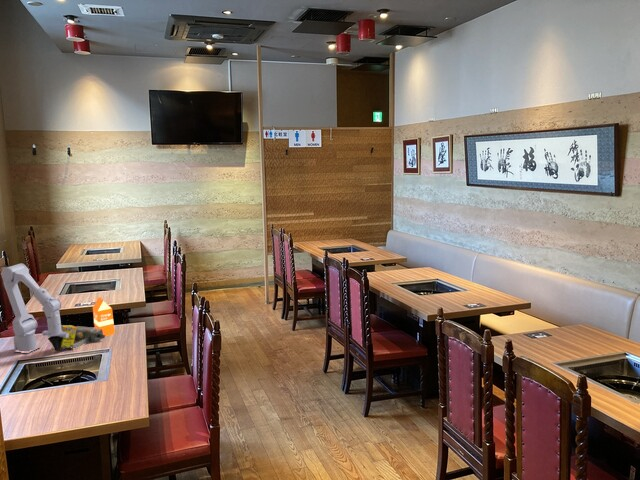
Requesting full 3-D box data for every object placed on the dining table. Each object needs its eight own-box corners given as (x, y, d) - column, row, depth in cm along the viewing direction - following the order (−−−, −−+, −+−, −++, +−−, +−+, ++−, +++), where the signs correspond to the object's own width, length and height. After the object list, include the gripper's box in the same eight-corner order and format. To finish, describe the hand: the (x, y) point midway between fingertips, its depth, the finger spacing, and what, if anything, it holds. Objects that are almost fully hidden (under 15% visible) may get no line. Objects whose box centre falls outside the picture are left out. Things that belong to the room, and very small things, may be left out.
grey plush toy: (50, 347, 253) (49, 336, 252) (75, 335, 269) (74, 324, 268) (84, 351, 247) (83, 340, 246) (108, 338, 263) (106, 328, 262)
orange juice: (109, 329, 277) (106, 295, 273) (114, 333, 270) (111, 298, 266) (94, 333, 272) (91, 298, 268) (100, 337, 265) (96, 301, 262)
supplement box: (61, 349, 246) (65, 327, 247) (55, 346, 250) (59, 325, 250) (73, 348, 251) (77, 327, 252) (66, 346, 254) (71, 325, 255)
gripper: (35, 325, 242) (39, 351, 244) (59, 328, 238) (63, 354, 240) (47, 320, 249) (50, 346, 251) (70, 323, 244) (74, 348, 247)
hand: (57, 349), depth 246 cm, fingers closed
